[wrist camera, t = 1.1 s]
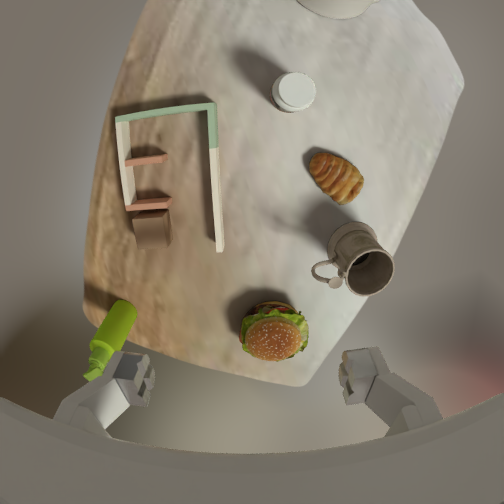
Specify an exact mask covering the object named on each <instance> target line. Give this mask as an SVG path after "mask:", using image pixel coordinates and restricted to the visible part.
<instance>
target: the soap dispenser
mask: <svg viewBox="0 0 504 504" xmlns="http://www.w3.org/2000/svg"><path fill="white" fill-rule="evenodd" d="M136 317H137V310H136V308H135V307H134V306H133V305H132V304H131V303H130V302H128V301H125V300H118V301H116V302H115V303H114V305H113V306H112V308H111V309H110V311H109V313H108V314H107V316H106V317H105V319H104V321H103V322H102V324H101V326H100V327H99V329H98V331H97V332H96V334H95V335H94V337H93V339H92V341H91V342H90V349H91V351H92V354H91V356H90V358H89V360H88V361H89V364H90V367H89V370H88V371H87V372H86V373H84V374H83V376H84V377H85V378H86V379H87V380H88V381H90V382H91V381H92V380H94V379H95V378H97V377H98V376H102V374H103V371H102V370H104V368H105V366H106V364H107V362H109V360H110V359H111V357H112V355H113V353H114V352H115V351H120V350H121V348H122V346H123V344H124V342H125V340H126V338H127V336H128V333H129V331H130V329H131V327H132V325H133V323H134V321H135V319H136Z"/></svg>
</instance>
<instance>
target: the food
mask: <svg viewBox="0 0 504 504" xmlns="http://www.w3.org/2000/svg"><path fill="white" fill-rule="evenodd" d="M239 340H240V342H241V343H242V344H243V345H242V347H243V350H244V351H246V352H248V353H249V354H251V355H252V356H253V357H257V358H259V359H262V360H266V361H277V362H278V361H280V360H284V359H286V358H291V357H293V356H294V355H295V354H296V353H298V351H303V350H304V348H305V347H306V346H307V343H308V324H307V323H306V320H305V317H304V316H303V315H301V311H299V314H298V312H297V311H296V310H295V309H294V308H293V307H291V306H290V305H289V304H285V303H282V302H278V301H272V302H264V303H261V304H258V305H257V306H255V307H254V308H252V309H251V310H250V311H249V312H248V313H247V314H246V315H245V317H244V318H243V320H242V324H241V331H240V335H239Z"/></svg>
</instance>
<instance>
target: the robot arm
mask: <svg viewBox="0 0 504 504" xmlns="http://www.w3.org/2000/svg"><path fill="white" fill-rule="evenodd" d="M297 1H298V2H299V3H300V4H302V5H303V6H304V7H306V8H307V9H309V10H311V11H313V12H315V13H317V14H319V15H322V16H325V17H329V18H336V19H348V18H353V17H356V16H359V15H360V14H362V13H363V12H365V11H366V9H367V8H368V7H369V6H370V5H371V4H373V3H376V2H379V1H380V0H297ZM342 360H343V362H342V363H341V364H340V366H339V381H340V385H341V386H342V387H344V391H343V396H344V400H345V403H346V405H352V404H359V403H365V404H366V405H367V406H368V407H369V408H370V409H371V410H372V411H373V412H374V413H375V414H377V415H378V416H379V417H380V418H381V419H382V420H383V421H384V422H385V423H386V424H387V425H388V426H389V427H390V429H389V430H388V432H387V433H386V435H385V436H384V437H383V438H379V439H375V440H370V441H366V442H361V443H356V444H350V445H345V446H339V447H332V448H326V449H317V450H310V451H298V452H287V453H266V454H228V453H226V454H225V453H207V452H194V451H184V450H176V449H168V448H161V447H154V446H148V445H143V444H138V443H132V442H128V441H123V440H118V439H114V438H111V436H110V435H109V434H108V433H107V431H106V430H105V429H106V428H107V427H108V426H109V425H110V424H111V423H112V422H113V421H114V420H115V419H116V418H117V417H118V416H119V415H120V414H121V413H122V412H124V411H125V410H126V409H127V408H128V407H129V405H137V406H146V407H147V405H148V402H149V399H150V396H151V395H150V393H149V390H150V389H151V388H153V386H154V383H155V373H154V369H153V367H152V366H151V365H149V361H150V359H149V357H148V355H146V354H139V353H131V352H122V351H115V352H114V353H113V355H112V357H111V359H110V360H109V362H108V364H107V366H106V369H105V370H104V372H103V374H102V376H98V377H97V378H95V379H94V380H92V381H91V382H89V383H88V384H86V385H85V386H83V387H81V388H80V389H79V390H77V391H76V392H74V393H72V394H71V395H69V396H68V397H67V398H65V399H63V400H62V402H61V404H60V406H59V408H58V410H57V412H56V414H55V416H54V418H53V420H52V419H49V418H47V417H44V416H42V415H39V414H37V413H35V412H32V411H30V410H28V409H25V408H23V407H21V406H19V405H17V404H14V403H12V402H10V401H8V400H6V399H4V398H0V504H504V393H502V394H499V395H496V396H494V397H492V398H490V399H489V400H486V401H484V402H482V403H480V404H478V405H476V406H473V407H471V408H469V409H467V410H464V411H462V412H460V413H457V414H455V415H452V416H450V417H447V418H444V419H443V418H442V416H441V414H440V411H439V409H438V407H437V405H436V403H435V401H434V399H433V397H431V396H429V395H428V394H426V393H425V392H423V391H422V390H420V389H419V388H417V387H415V386H414V385H412V384H411V383H409V382H407V381H406V380H405V379H403V378H402V377H400V376H398V375H397V374H395V373H391V372H390V370H389V368H388V366H387V363H386V361H385V359H384V357H383V355H382V353H381V351H380V349H379V347H377V346H376V347H369V348H362V349H355V350H347V351H344V352H343V354H342Z"/></svg>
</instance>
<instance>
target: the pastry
mask: <svg viewBox="0 0 504 504" xmlns="http://www.w3.org/2000/svg"><path fill="white" fill-rule="evenodd" d="M309 172H310V173H311V175H312V176H313V177H314V179H315V182H316V183H317V184H318V185H319V186H320V187H321V190H322V192H323V193H326V194H327V195H329V196H330V197H331V198H332V199H333V200H334V201H336V202H337V203H338V204H339V205H344V204H347V203H348V202H351V201H352V200H353V199H354V198H355V197H356V196H357V195H358V194H359V193H360V190H361V189H362V187H363V183H364V178H363V176H362V175H361V174H360V172H359V170H358V169H357V168H356V167H355V166H353V165H352V164H350V163H349V162H348V161H347V160H344V159H342V158H339V157H337V156H334V155H332V154H328V153H316V154H315V155H314V156H313V157H312V158H311V161H310V163H309Z"/></svg>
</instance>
